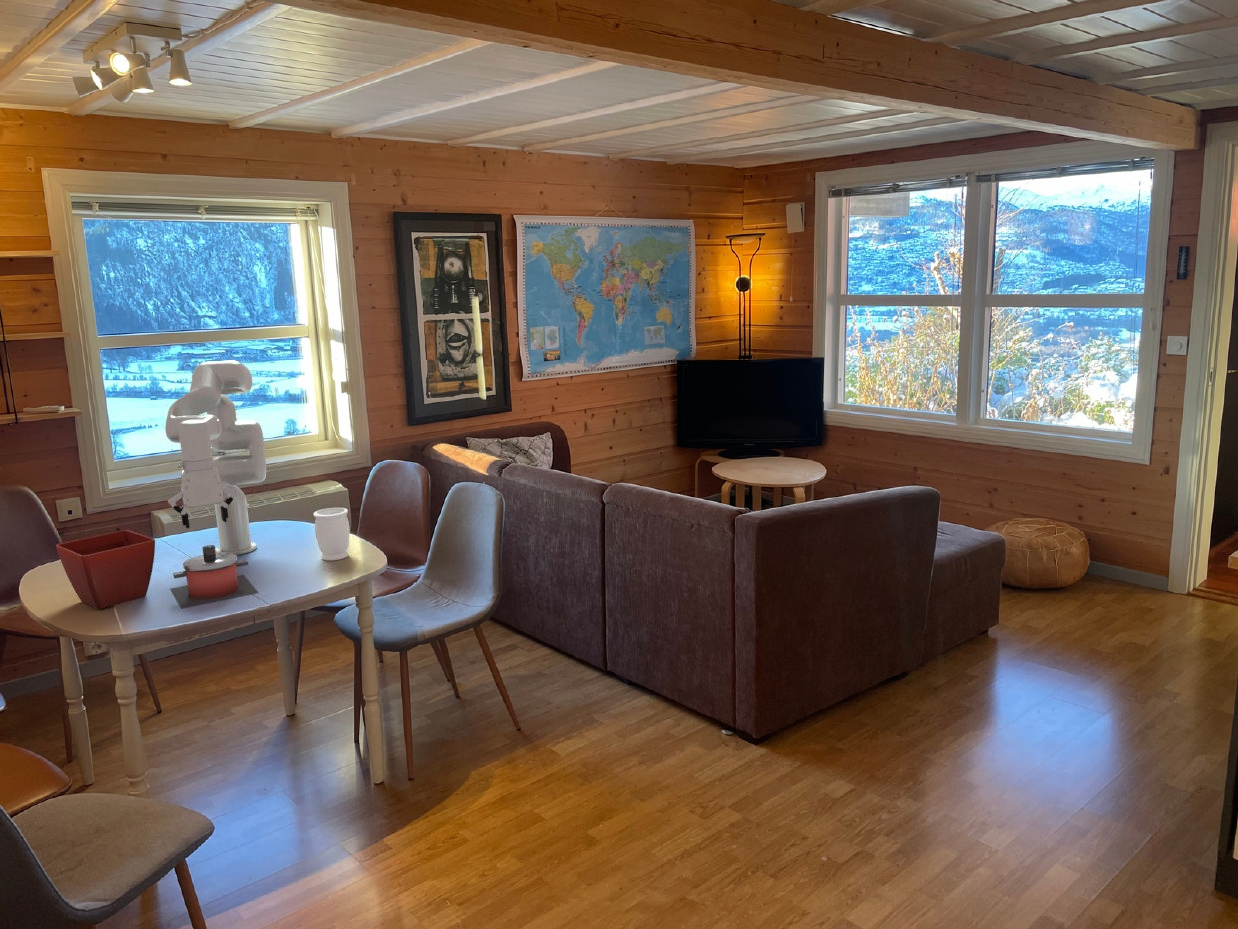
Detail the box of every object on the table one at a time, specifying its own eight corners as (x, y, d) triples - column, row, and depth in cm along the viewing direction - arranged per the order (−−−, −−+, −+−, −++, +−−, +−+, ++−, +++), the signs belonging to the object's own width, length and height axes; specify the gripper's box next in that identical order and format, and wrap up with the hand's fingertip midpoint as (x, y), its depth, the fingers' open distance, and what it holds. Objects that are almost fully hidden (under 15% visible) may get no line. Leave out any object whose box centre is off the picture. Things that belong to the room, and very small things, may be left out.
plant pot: (134, 583, 267) (126, 528, 263) (164, 596, 255) (156, 539, 251) (63, 602, 252) (54, 544, 249) (91, 617, 240) (82, 556, 237)
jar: (345, 562, 282) (341, 515, 279) (313, 562, 282) (308, 516, 279) (356, 551, 292) (352, 506, 289) (324, 552, 293) (320, 507, 289)
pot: (173, 591, 257) (169, 564, 255) (244, 577, 267) (241, 552, 266) (180, 604, 246) (177, 576, 245) (254, 589, 257) (251, 562, 255)
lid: (179, 562, 257) (177, 545, 256) (232, 553, 265) (230, 536, 264) (187, 575, 246) (185, 557, 245) (242, 565, 253) (240, 547, 252)
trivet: (170, 590, 260) (169, 588, 259) (243, 576, 270) (243, 574, 270) (181, 610, 243) (181, 608, 243) (259, 594, 254) (258, 592, 254)
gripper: (165, 472, 242) (174, 533, 246) (234, 462, 251) (241, 521, 255) (161, 466, 248) (170, 526, 252) (228, 457, 257) (235, 515, 261)
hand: (206, 524), depth 253 cm, fingers open, 9 cm apart
